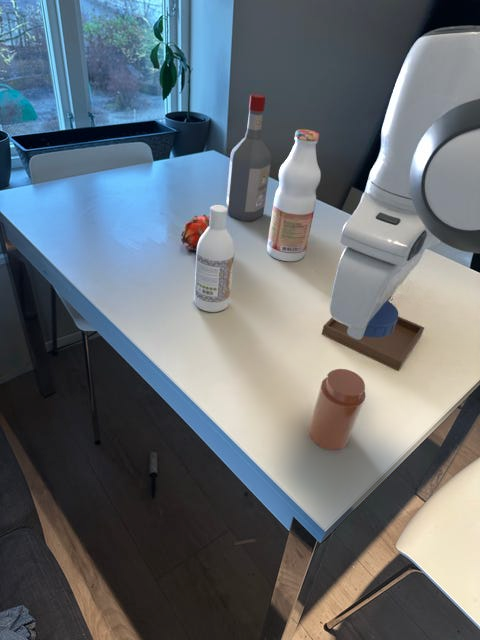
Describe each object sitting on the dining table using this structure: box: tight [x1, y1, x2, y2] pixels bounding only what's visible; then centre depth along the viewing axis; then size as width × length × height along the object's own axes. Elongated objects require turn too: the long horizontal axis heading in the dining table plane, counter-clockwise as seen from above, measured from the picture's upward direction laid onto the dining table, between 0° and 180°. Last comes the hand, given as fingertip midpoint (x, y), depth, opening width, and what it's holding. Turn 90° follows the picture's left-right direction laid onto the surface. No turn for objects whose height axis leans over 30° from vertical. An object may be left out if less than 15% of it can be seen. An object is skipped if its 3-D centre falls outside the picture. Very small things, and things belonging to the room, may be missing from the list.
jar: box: [307, 368, 366, 451], centre depth 62 cm, size 6×6×11 cm
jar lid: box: [346, 301, 400, 338], centre depth 53 cm, size 6×6×2 cm
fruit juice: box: [266, 129, 322, 262], centre depth 100 cm, size 9×9×28 cm
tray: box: [321, 315, 425, 372], centre depth 85 cm, size 15×13×2 cm
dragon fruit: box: [180, 213, 210, 251], centre depth 104 cm, size 8×8×12 cm
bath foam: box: [193, 204, 235, 313], centre depth 83 cm, size 7×7×20 cm
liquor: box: [225, 93, 272, 222], centre depth 115 cm, size 9×9×30 cm
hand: (368, 320), depth 54 cm, fingers closed on jar lid, 6 cm apart
